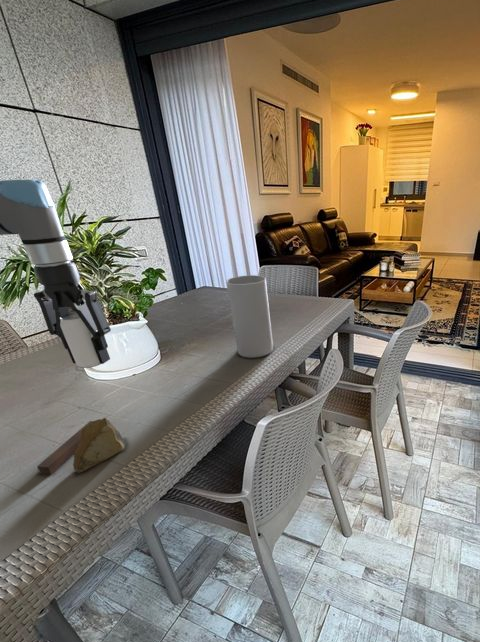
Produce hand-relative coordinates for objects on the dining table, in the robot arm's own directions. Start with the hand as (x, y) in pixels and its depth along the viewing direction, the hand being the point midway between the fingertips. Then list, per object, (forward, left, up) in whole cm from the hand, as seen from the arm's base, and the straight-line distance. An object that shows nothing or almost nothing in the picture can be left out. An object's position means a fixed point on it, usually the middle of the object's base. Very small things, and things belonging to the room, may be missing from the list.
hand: (91, 360), depth 85 cm
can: (0, 0, -1) cm, 1 cm away
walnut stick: (0, -15, -15) cm, 21 cm away
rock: (+9, -17, -15) cm, 24 cm away
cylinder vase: (+27, +40, -15) cm, 51 cm away
